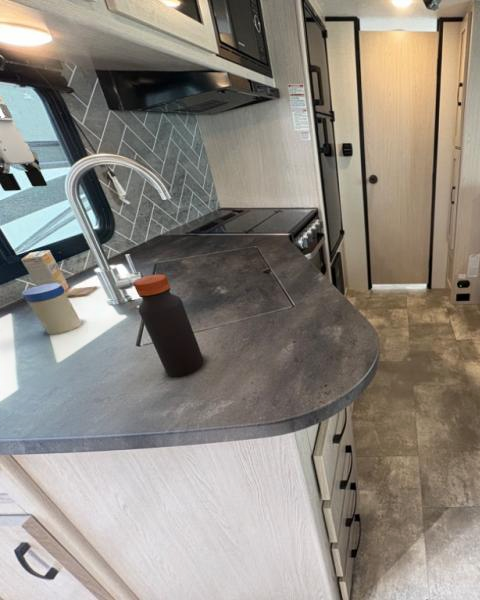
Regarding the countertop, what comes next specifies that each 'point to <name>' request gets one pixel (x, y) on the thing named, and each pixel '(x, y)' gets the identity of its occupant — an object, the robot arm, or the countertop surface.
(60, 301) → the jam jar
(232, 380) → the countertop surface
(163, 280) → the bottle
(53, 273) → the supplement box
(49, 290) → the jam lid
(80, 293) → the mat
